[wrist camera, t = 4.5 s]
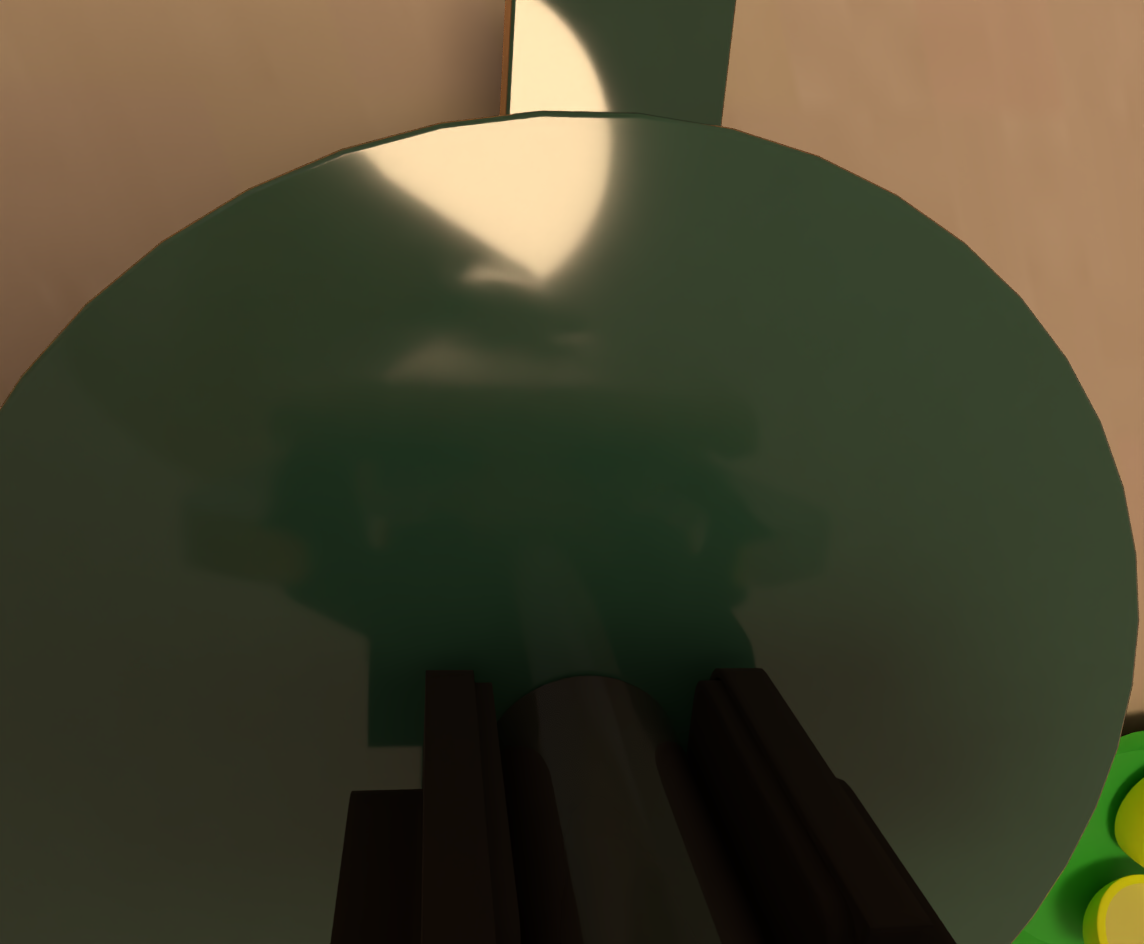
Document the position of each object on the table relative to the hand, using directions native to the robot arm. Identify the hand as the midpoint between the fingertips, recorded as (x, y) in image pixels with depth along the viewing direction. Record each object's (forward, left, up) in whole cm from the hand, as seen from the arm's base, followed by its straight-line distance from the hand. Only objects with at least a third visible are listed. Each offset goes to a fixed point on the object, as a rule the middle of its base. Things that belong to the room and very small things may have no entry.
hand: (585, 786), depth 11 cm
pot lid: (0, 0, -1) cm, 1 cm away
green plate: (+15, -8, -8) cm, 19 cm away
